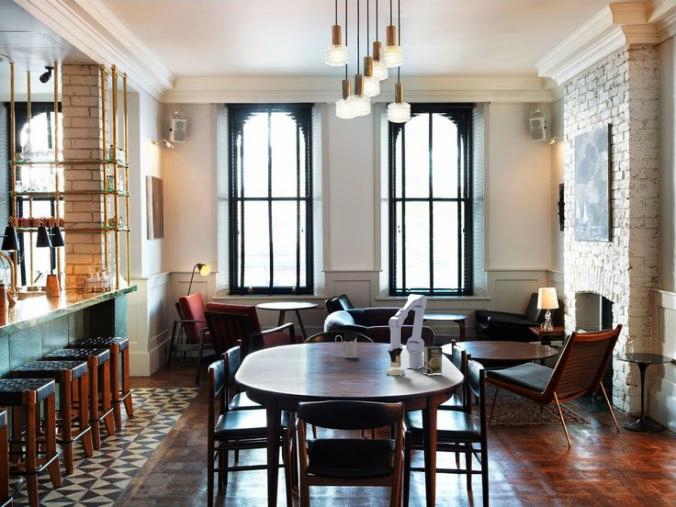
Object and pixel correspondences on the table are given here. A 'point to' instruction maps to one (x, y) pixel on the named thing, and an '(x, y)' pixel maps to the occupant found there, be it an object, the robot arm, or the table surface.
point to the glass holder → (349, 345)
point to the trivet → (394, 371)
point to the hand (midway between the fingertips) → (395, 361)
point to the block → (397, 363)
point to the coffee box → (432, 359)
